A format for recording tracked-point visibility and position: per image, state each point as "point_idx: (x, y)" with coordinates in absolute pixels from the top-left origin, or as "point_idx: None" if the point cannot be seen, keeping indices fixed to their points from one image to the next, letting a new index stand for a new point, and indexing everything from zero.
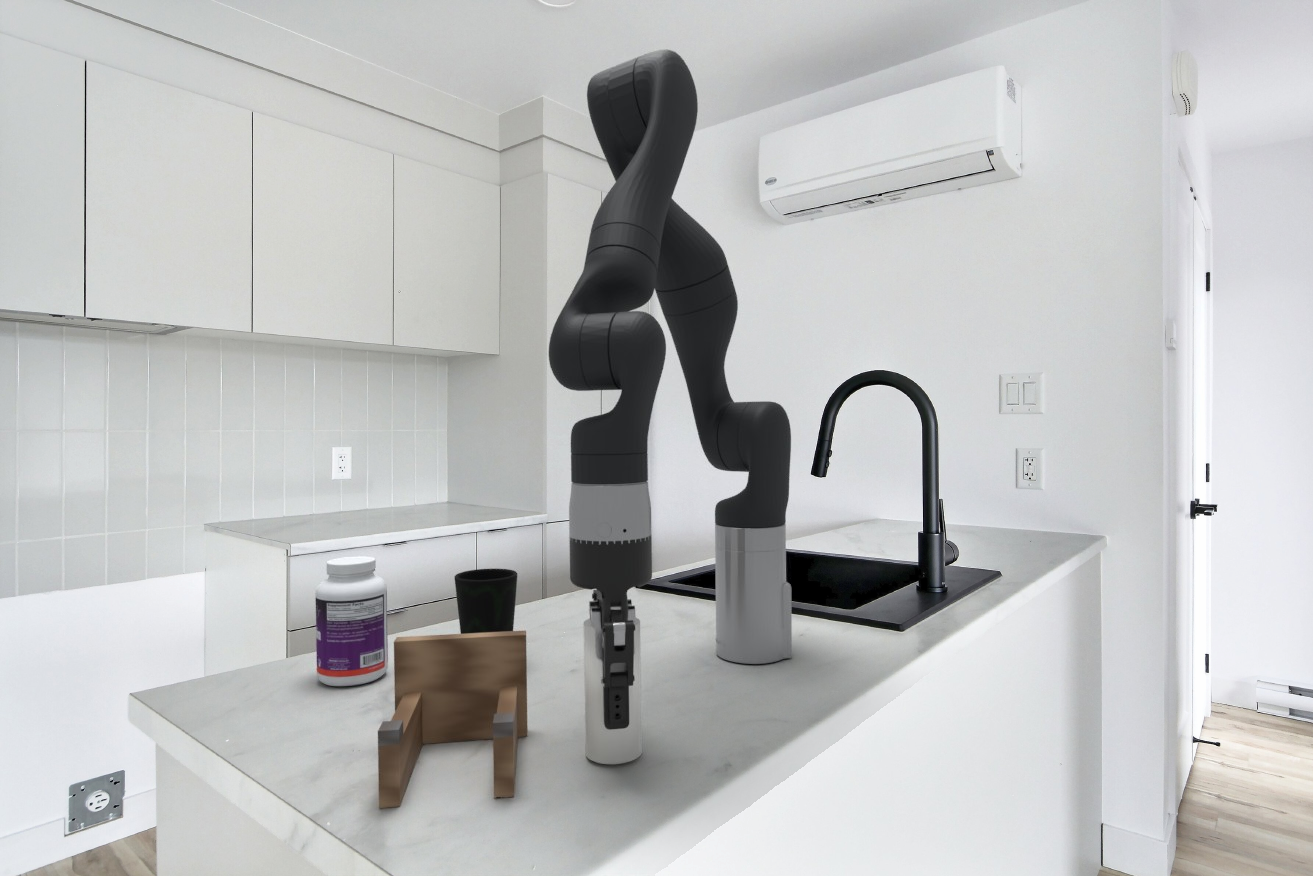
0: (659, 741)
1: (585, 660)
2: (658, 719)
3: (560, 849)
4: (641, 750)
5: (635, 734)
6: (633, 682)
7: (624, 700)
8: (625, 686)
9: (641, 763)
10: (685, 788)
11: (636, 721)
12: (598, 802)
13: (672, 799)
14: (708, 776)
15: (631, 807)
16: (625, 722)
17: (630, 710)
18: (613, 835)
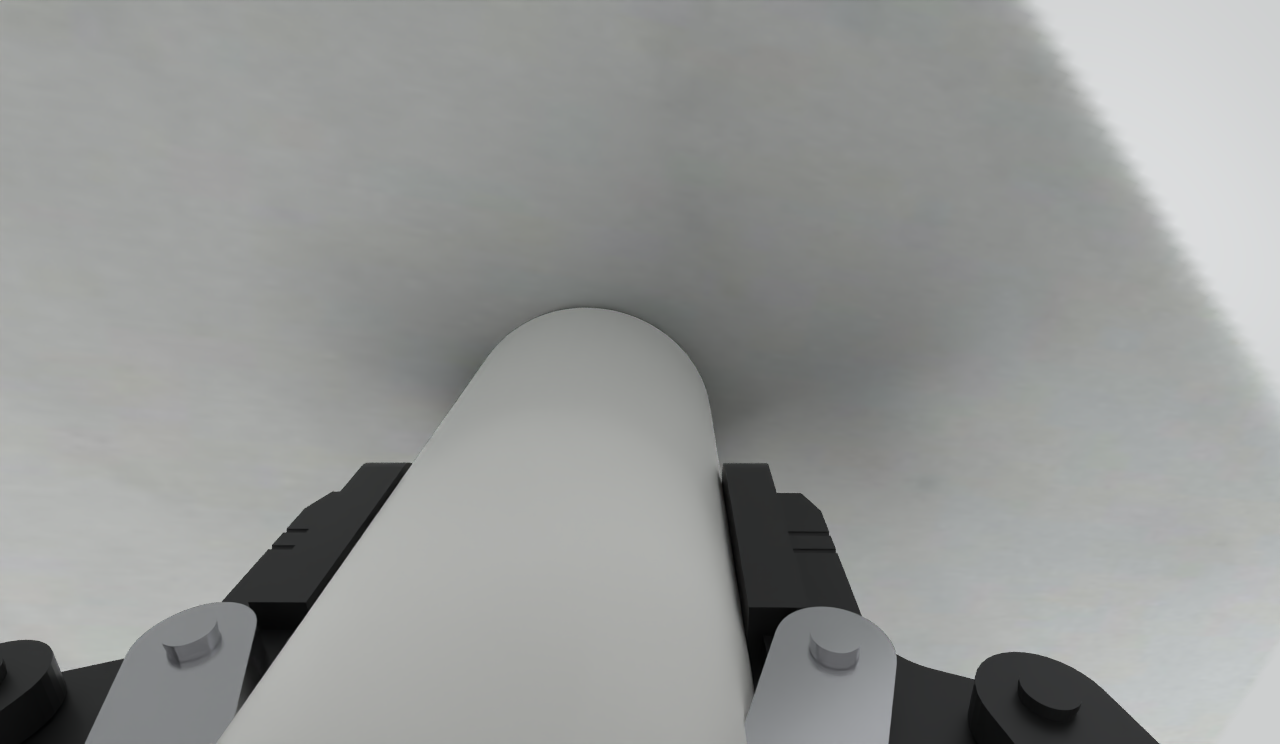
0: (466, 203)
1: None
2: (194, 167)
3: (1207, 618)
4: (624, 316)
5: (679, 385)
6: (696, 557)
7: (848, 587)
8: (916, 665)
9: (686, 316)
10: (966, 162)
11: (674, 405)
12: (963, 500)
13: (1039, 235)
14: (886, 24)
15: (1041, 397)
16: (806, 498)
17: (709, 476)
18: (1202, 473)
